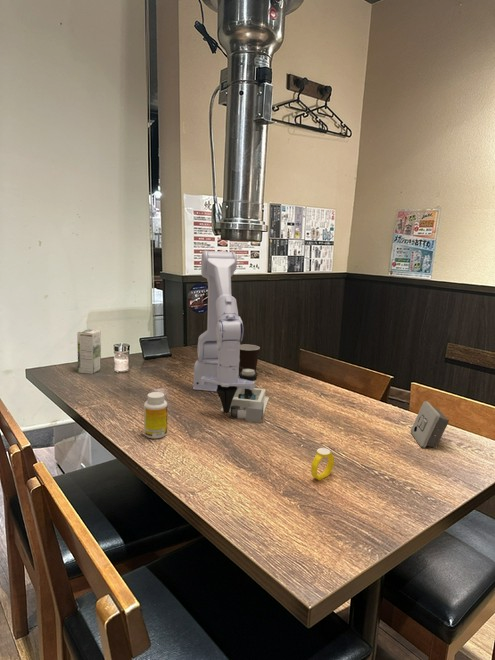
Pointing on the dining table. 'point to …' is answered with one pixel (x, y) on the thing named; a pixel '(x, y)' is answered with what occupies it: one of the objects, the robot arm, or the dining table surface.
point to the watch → (320, 454)
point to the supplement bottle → (155, 415)
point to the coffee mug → (248, 357)
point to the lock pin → (238, 412)
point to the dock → (256, 391)
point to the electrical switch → (429, 426)
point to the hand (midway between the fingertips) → (226, 411)
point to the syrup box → (89, 351)
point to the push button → (251, 376)
